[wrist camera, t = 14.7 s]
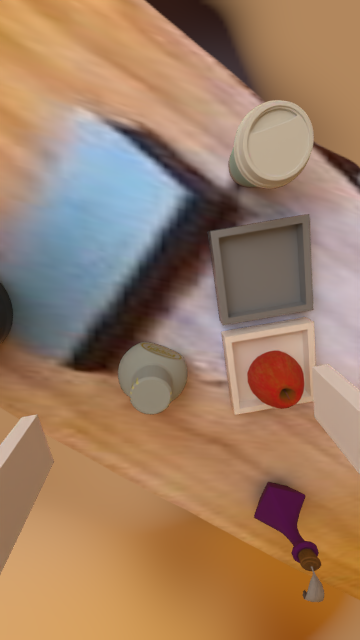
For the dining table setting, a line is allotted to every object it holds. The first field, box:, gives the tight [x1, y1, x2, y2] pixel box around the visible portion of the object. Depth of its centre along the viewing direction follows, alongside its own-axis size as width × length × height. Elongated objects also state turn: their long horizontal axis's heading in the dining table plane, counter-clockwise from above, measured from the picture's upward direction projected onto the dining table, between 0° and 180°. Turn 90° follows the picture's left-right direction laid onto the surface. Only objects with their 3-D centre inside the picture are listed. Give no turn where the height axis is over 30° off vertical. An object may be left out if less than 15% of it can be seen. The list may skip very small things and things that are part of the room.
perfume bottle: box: [254, 482, 324, 602], centre depth 52 cm, size 8×8×18 cm
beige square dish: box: [221, 317, 316, 415], centre depth 51 cm, size 14×14×3 cm
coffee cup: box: [229, 100, 314, 189], centre depth 38 cm, size 8×8×12 cm
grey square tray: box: [208, 214, 313, 325], centre depth 46 cm, size 14×14×3 cm
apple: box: [247, 350, 304, 409], centre depth 47 cm, size 8×8×11 cm
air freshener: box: [118, 342, 187, 414], centre depth 47 cm, size 11×8×10 cm
